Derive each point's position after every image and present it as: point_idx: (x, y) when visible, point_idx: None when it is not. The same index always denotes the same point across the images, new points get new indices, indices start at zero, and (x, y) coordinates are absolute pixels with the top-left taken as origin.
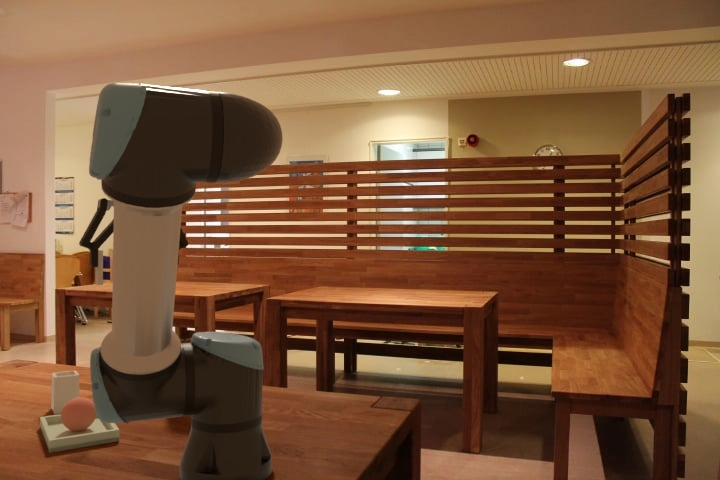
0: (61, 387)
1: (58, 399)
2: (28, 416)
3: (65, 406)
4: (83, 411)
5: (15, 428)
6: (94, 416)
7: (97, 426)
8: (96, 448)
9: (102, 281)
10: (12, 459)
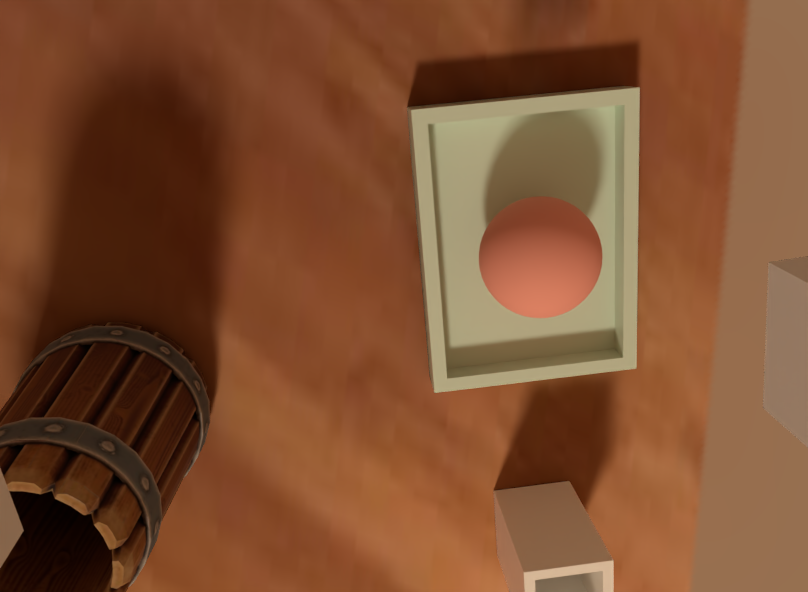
0: (574, 537)
1: (570, 510)
2: (641, 486)
3: (597, 253)
4: (536, 208)
5: (687, 378)
6: (488, 226)
7: (463, 259)
8: (485, 64)
9: (797, 270)
10: (725, 74)
